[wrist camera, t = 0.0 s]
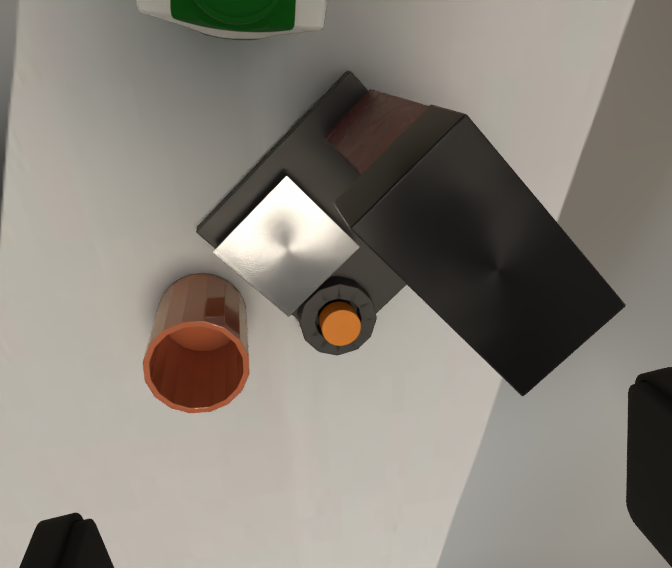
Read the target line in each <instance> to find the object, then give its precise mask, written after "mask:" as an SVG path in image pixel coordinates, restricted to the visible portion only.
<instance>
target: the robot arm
mask: <svg viewBox="0 0 672 568" xmlns="http://www.w3.org/2000/svg"><path fill="white" fill-rule="evenodd" d="M626 493H627V494H626V495H627V496H626V503H627V509H628V512H629V514H630V516H631V518H632V520H633V522H634V523H635V525H636V526H637V527H638V528H639V529H640V530H641V532H642V533H643V534H644V535H645V536H646V538H647V539H648V540H649V541H650V542H651V543H652V545H653V546H654V547H655V548H656V549H657V550H658V552H659V553H660V554H661V555H662V556H663V557H664V559H665V560H666V561H667V562H668V563H669V565H670V566H671V567H672V367H667V368H663V369H659V370H655V371H651V372H647V373H643V374H640V375H638V377H637V378H636V381H635V384H633V385H631V386H630V388H629V392H628V438H627V491H626ZM19 568H114V566H113V564H112V562H111V559H110V557H109V555H108V552H107V550H106V547H105V545H104V543H103V540H102V538H101V536H100V533H99V531H98V528H97V526H96V524H95V522H94V521H93V520H92V519H86V520H83V518H82V516H81V515H80V514H79V513H72V514H68V515H64V516H60V517H56V518H52V519H47V520H43V521H41V522H39V523H38V525H37V526H36V528H35V531H34V533H33V536H32V538H31V540H30V543H29V545H28V548H27V550H26V553H25V555H24V558H23V560H22V563H21V565H20V567H19Z"/></svg>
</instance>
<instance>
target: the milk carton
mask: <svg viewBox="0 0 672 568" xmlns="http://www.w3.org/2000/svg"><path fill="white" fill-rule="evenodd" d="M136 1H137V8H138V9H139V12H140V13H144V14H147V15H150V16H154V17H157V18H160V19H163V20H167V21H170V22H173V23H176V24H179V25H183V26H186V27H189V28H192V29H195V30H197V31H199V32H200V33H203V34H205V35H209V36H213V37H218V38H224V39H234V40H256V39H262V38H265V37H269V36H274V35H282V34H290V33H298V32H306V31H315V30H321V29H322V27H323V26H324V19H325V12H326V6H327V0H136Z"/></svg>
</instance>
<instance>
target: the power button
mask: <svg viewBox="0 0 672 568" xmlns="http://www.w3.org/2000/svg"><path fill="white" fill-rule="evenodd" d="M319 324H320V327H321V331H322V334H323V336H324V338H325V339H326V340H327V341H328V342H329V343H331V344H333V345H337V346H343V345H347V344H349V343H351V342H353V341H354V340H355V339H356V338H357V337H358V335H359V333H360V330H361V323H360V320H359V317H358V315H357V313H356V311H355V309H354V308H353V307H352V306H351V305H350V304H348V303H346V302H341V301H338V302H333V303H330V304H328V305H327V306H326V307H325V308H324V309H323V310H322V311H321V313H320V316H319Z"/></svg>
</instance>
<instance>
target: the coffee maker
mask: <svg viewBox="0 0 672 568" xmlns="http://www.w3.org/2000/svg"><path fill="white" fill-rule="evenodd" d="M324 138H325V139H326V140H327V141H328V142H329V143H330V144H331V145H332V146H333V147H334V148H335V149H336V150H337V151H338V152H339V153H340V154H341V155H342V156H343V157H344V158H345V159H346V160H347V161H348V162H349V163H350V164H351V165H352V166H353V168H354V169H355V170H356V171H357V172H358V173H359V174H360V176H359V177H358V178H357V179H356V180H355V181H354V182H353V183H352V184H351V185H350V186H349V187H348V188H347V189H346V190H345V191H344V192H343V193H342V194H341V195H340V196H339V197H338V198H337V199H336V200H335V201H334V205H335V207H336V208H337V210H338V211H339V213H340V214H341V216H342V217H343V219H344V220H345V222H346V223H347V225H348V226H349V228H350V229H351V230H352V231H353V232H354V233H355V234H356V235H357V236H358V237H359V238H360V239H361V240H362V241H363V242H364V243H365V244H366V245H367V246H368V247H369V248H370V249H371V250H372V251H373V252H374V253H375V254H376V255H377V256H378V257H379V258H380V259H381V260H382V261H384V262H385V263H386V264H387V265H388V266H389V267H390V268H391V269H392V270H393V271H394V272H395V273H396V274H397V275H398V276H399V277H400V278H401V279H402V280H403V281H404V282H405V283H406V284H407V285H408V286H409V287H410V288H411V289H412V290H413V291H414V292H415V293H416V294H417V295H418V296H419V297H420V298H422V299H423V300H424V301H425V302H426V303H427V304H428V305H429V306H430V307H431V308H432V309H433V310H434V311H435V312H436V313H437V314H438V315H439V316H440V317H441V318H442V319H443V320H444V321H445V322H446V323H447V324H448V325H449V326H450V327H451V328H452V329H453V330H454V331H455V332H456V333H457V334H458V335H460V336H461V337H462V338H463V339H464V340H465V341H466V342H467V343H468V344H469V345H470V346H471V347H472V348H473V349H474V350H475V351H476V352H477V353H478V354H479V355H480V356H481V357H482V358H483V359H484V360H485V361H486V362H487V363H488V364H489V365H490V366H491V367H492V368H493V369H494V370H495V371H497V372H498V373H499V374H500V375H501V376H502V377H503V378H504V379H505V380H506V381H507V382H508V383H509V384H510V385H511V386H512V387H513V388H514V389H515V390H516V391H517V392H518V393H519V394H520V395H521V396H524V395H525V394H526V393H528V392H529V391H530V390H531V389H532V388H533V387H535V386H536V385H537V384H538V383H539V382H540V381H541V380H542V379H544V378H545V377H546V376H547V375H548V374H549V373H550V372H551V371H553V370H554V369H555V368H556V367H557V366H558V365H559V364H561V363H562V362H563V361H564V360H565V359H566V358H567V357H568V356H570V355H571V354H572V353H573V352H574V351H575V350H576V349H578V348H579V347H580V346H581V345H582V344H583V343H584V342H585V341H586V340H588V339H589V338H590V337H591V336H592V335H593V334H595V332H597V331H598V330H599V329H600V328H601V327H602V326H603V325H605V324H606V323H607V322H608V321H609V320H610V319H612V318H613V317H614V316H615V315H616V314H617V313H618V312H619V311H621V310H622V309H623V308H624V307H625V306H626V305H625V303H624V302H623V301H622V300H621V299H620V297H619V296H618V295H617V294H616V293H615V291H614V290H613V289H612V288H611V287H610V285H609V284H608V283H607V282H606V281H605V279H604V278H603V277H602V276H601V275H600V274H599V272H598V271H597V270H596V269H595V267H593V265H592V264H591V263H590V261H589V260H587V258H586V257H585V255H584V254H583V253H582V252H581V251H580V250H579V248H578V247H577V246H576V245H575V243H574V242H573V241H572V240H571V239H570V238H569V236H568V235H567V234H566V233H565V232H564V230H563V229H562V228H561V227H560V226H559V224H558V223H557V222H556V221H555V220H554V218H553V217H552V216H551V215H550V214H549V212H548V211H547V210H546V209H545V208H544V206H543V205H542V204H541V203H540V202H539V200H538V199H537V198H536V197H535V196H534V194H533V193H532V192H531V191H530V190H529V188H528V187H527V186H526V185H525V184H524V182H523V181H522V180H521V179H520V178H519V176H518V175H517V174H516V173H515V172H514V170H513V169H512V168H511V167H510V166H509V164H508V163H507V162H506V161H505V160H504V158H503V157H502V156H501V155H500V154H499V153H498V151H497V150H496V149H495V148H494V147H493V145H492V144H491V143H490V142H489V141H488V139H487V138H486V137H485V136H484V135H483V133H482V132H481V131H480V130H479V129H478V127H477V126H476V125H475V124H474V123H473V121H472V120H471V119H470V118H469V117H468V115H466V114H464V113H460V112H456V111H453V110H449V109H446V108H442V107H438V106H435V105H430V106H427V105H424V104H420V103H417V102H413V101H410V100H406V99H403V98H399V97H396V96H392V95H389V94H385V93H382V92H379V91H375V90H372V89H370V90H369V91H368V92H367V93H366V94H365V95H364V96H363V97H362V98H361V99H360V100H359V101H358V102H357V103H356V104H355V105H354V106H353V107H352V108H351V109H350V110H349V111H348V112H347V114H346V115H345V116H344V117H343V118H342V119H341V120H340V121H339V122H338V123H337V124H336V125H335V126H334V127H333V128H332V129H331V130H330V131H329V132H328V133H327V134H326V135H325V136H324ZM359 247H360V246H359V245H358V244H357V243H356V242H355V241H354V240H353V239H352V238H351V237H350V236H349V235H348V234H347V233H346V232H345V231H344V230H342V229H341V228H340V227H339V226H338V225H337V224H336V223H335V222H334V221H333V220H332V219H331V218H330V217H329V216H328V215H327V214H326V213H325V212H324V211H323V210H322V209H321V208H320V207H319V206H318V205H317V204H316V203H315V202H314V201H312V200H311V199H310V198H309V197H308V196H307V195H306V194H305V193H304V192H303V191H302V190H301V189H300V188H299V187H298V186H297V185H296V184H295V183H294V182H293V181H292V180H291V179H290V178H289V177H288V176H287V175H286V176H285V177H284V178H283V179H282V180H281V181H280V182H279V183H278V184H277V185H276V186H275V187H274V189H273V190H272V191H271V192H270V193H269V194H268V195H267V196H266V197H265V198H264V199H263V200H262V201H261V202H260V203H259V204H258V205H257V206H256V207H255V208H254V209H253V210H252V211H251V212H250V213H249V214H248V215H247V216H246V217H245V218H244V219H243V220H242V221H241V223H240V224H239V225H238V226H237V227H236V228H235V229H234V230H233V231H232V232H231V233H230V234H229V235H228V236H227V237H226V238H225V239H224V240H223V241H222V242H221V243H220V244H219V245H218V246H217V247H216V248H215V249H214V250H213V253H214V254H216V255H217V256H218V257H219V258H220V259H221V260H223V261H224V262H225V263H226V264H227V265H228V266H230V267H231V268H232V269H233V270H234V271H236V272H237V273H238V274H239V275H240V276H241V277H243V278H244V279H245V280H246V281H247V282H248V283H250V284H251V285H252V286H253V287H254V288H255V289H257V290H258V291H259V292H260V293H261V294H263V295H264V296H265V297H266V298H267V299H268V300H270V301H271V302H272V303H273V304H274V305H275V306H277V307H278V308H279V309H280V310H281V311H283V312H284V313H285V314H286V315H287V316H288V317H289V316H290V315H291V314H292V313H293V312H294V311H295V310H296V309H297V308H298V307H299V306H300V305H301V304H302V303H303V302H304V301H305V300H306V299H307V298H308V297H309V296H310V295H311V294H312V293H313V292H314V291H315V290H316V289H317V288H318V287H319V286H321V285H322V284H323V283H324V282H325V281H326V280H327V279H328V278H329V277H330V276H331V275H332V274H333V273H334V272H335V271H336V270H337V269H338V268H339V267H340V266H341V265H342V264H343V263H344V262H345V261H346V260H347V259H348V258H349V257H350V256H351V255H352V254H353V253H354V252H355V251H356V250H357V249H358V248H359Z"/></svg>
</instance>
